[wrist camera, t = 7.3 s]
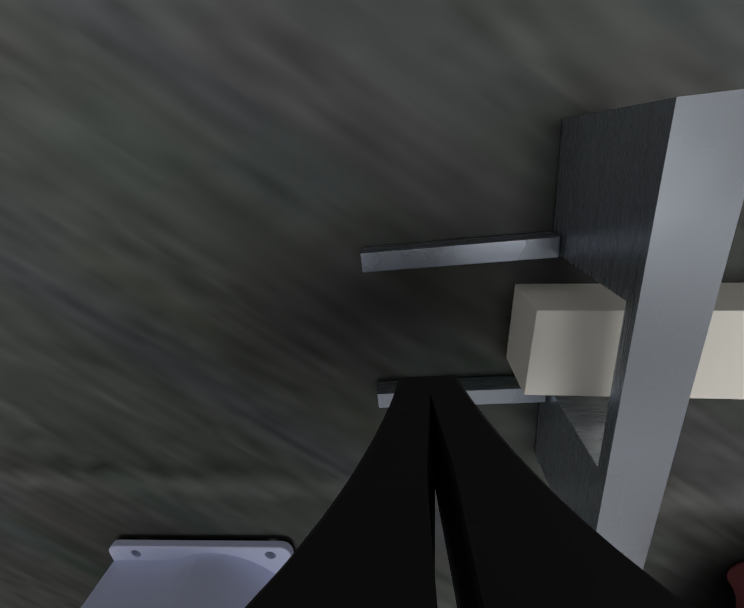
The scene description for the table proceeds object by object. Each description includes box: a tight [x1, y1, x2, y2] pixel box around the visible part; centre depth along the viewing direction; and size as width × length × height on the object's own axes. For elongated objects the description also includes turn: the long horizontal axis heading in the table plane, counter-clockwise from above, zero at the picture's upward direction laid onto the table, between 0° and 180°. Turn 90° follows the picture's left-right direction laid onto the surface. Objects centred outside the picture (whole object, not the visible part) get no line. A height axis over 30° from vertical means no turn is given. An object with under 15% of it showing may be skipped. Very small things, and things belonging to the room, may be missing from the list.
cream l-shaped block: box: [506, 283, 744, 399], centre depth 11 cm, size 10×3×4 cm, turn 92°
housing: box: [360, 89, 744, 569], centre depth 11 cm, size 7×12×5 cm, turn 6°
